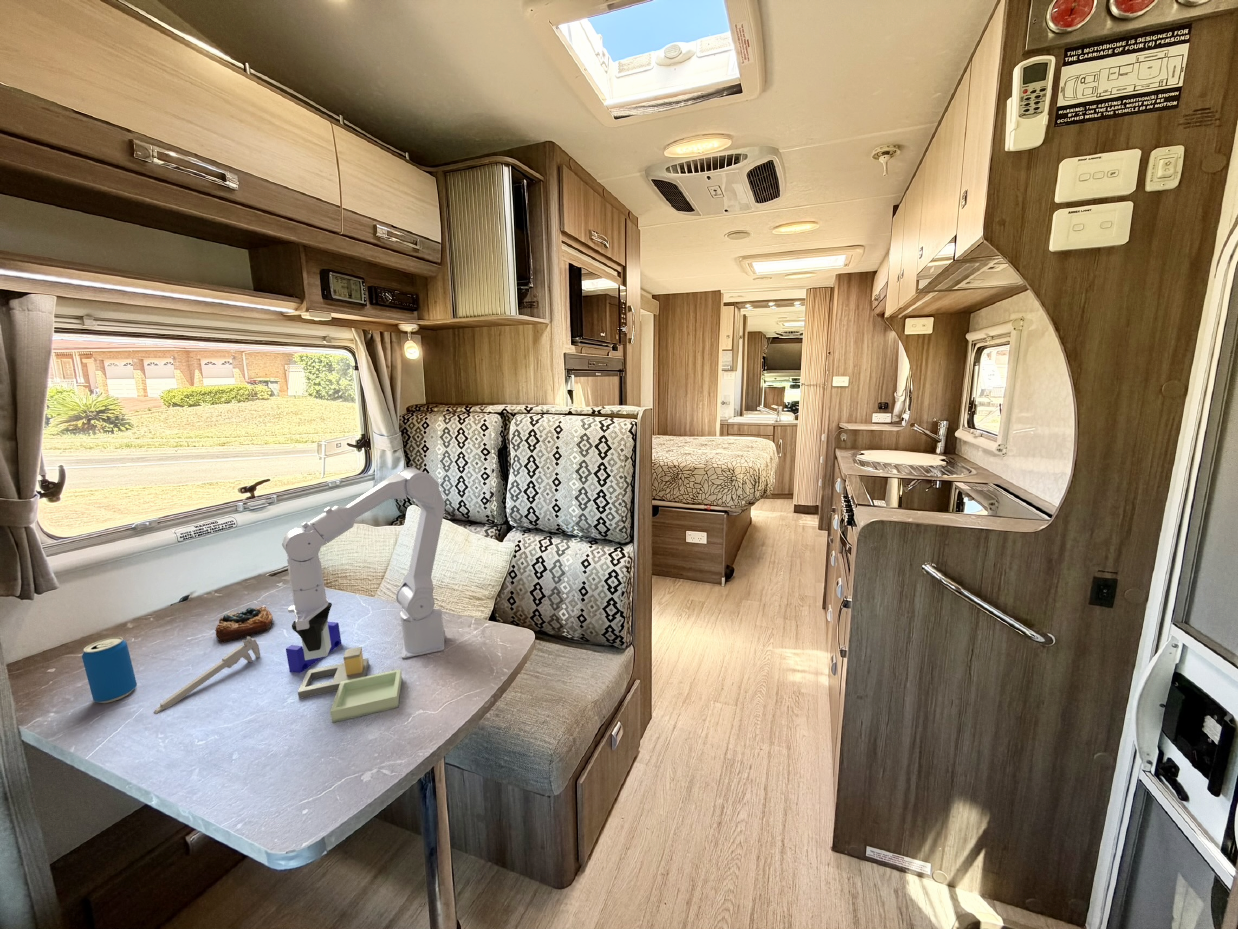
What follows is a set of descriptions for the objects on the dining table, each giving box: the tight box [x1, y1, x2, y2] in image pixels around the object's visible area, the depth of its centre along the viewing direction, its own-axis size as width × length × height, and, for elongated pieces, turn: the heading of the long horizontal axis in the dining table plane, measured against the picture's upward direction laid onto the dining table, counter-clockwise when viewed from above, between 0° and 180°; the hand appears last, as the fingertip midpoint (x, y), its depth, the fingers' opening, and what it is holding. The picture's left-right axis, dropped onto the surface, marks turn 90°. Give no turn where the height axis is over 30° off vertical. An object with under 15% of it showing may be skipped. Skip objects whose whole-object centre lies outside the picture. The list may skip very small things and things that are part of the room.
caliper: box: [153, 636, 261, 714], centre depth 104 cm, size 20×1×6 cm, turn 162°
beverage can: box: [81, 636, 138, 704], centre depth 100 cm, size 6×6×12 cm
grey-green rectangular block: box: [300, 619, 331, 660], centre depth 101 cm, size 4×4×7 cm
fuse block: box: [297, 646, 370, 699], centre depth 103 cm, size 12×8×6 cm, turn 110°
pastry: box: [214, 606, 274, 644], centre depth 126 cm, size 11×12×6 cm
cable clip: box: [285, 621, 343, 674], centre depth 112 cm, size 12×4×6 cm, turn 168°
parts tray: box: [329, 668, 403, 724], centre depth 97 cm, size 12×10×2 cm
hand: (317, 644), depth 101 cm, fingers closed on grey-green rectangular block, 4 cm apart
